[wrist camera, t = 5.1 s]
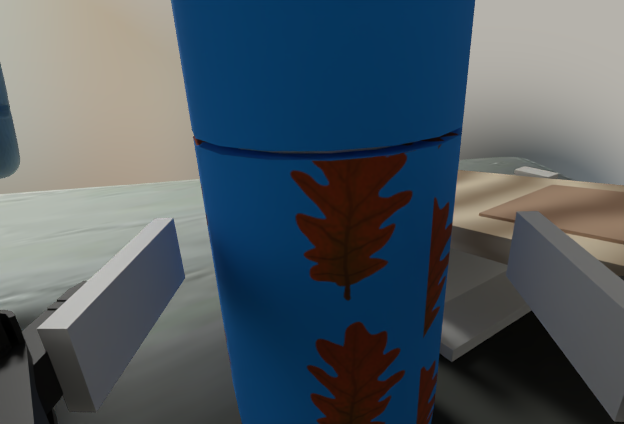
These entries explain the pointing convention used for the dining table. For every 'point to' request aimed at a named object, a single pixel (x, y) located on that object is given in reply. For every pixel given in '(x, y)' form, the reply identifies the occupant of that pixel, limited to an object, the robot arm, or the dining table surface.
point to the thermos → (329, 195)
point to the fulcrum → (479, 296)
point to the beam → (548, 201)
